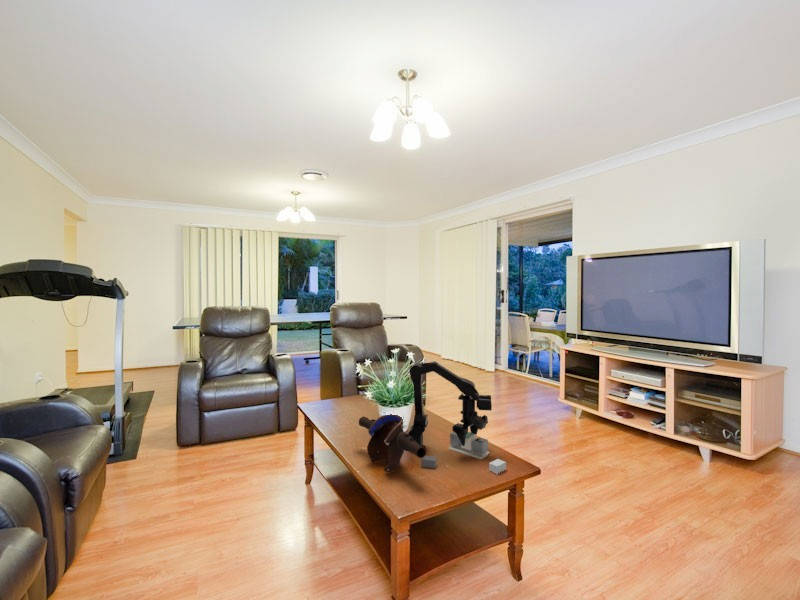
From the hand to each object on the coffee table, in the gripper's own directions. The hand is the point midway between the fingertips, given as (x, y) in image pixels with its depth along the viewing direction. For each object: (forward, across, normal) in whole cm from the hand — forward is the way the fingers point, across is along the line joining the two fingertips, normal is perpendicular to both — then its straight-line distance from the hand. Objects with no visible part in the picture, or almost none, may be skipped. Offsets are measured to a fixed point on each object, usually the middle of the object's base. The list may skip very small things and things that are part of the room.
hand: (468, 442), depth 176 cm
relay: (+4, -23, +6) cm, 24 cm away
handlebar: (+4, -34, +19) cm, 39 cm away
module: (+2, 0, 0) cm, 2 cm away
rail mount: (+4, 0, 0) cm, 4 cm away
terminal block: (+4, -8, -18) cm, 21 cm away
